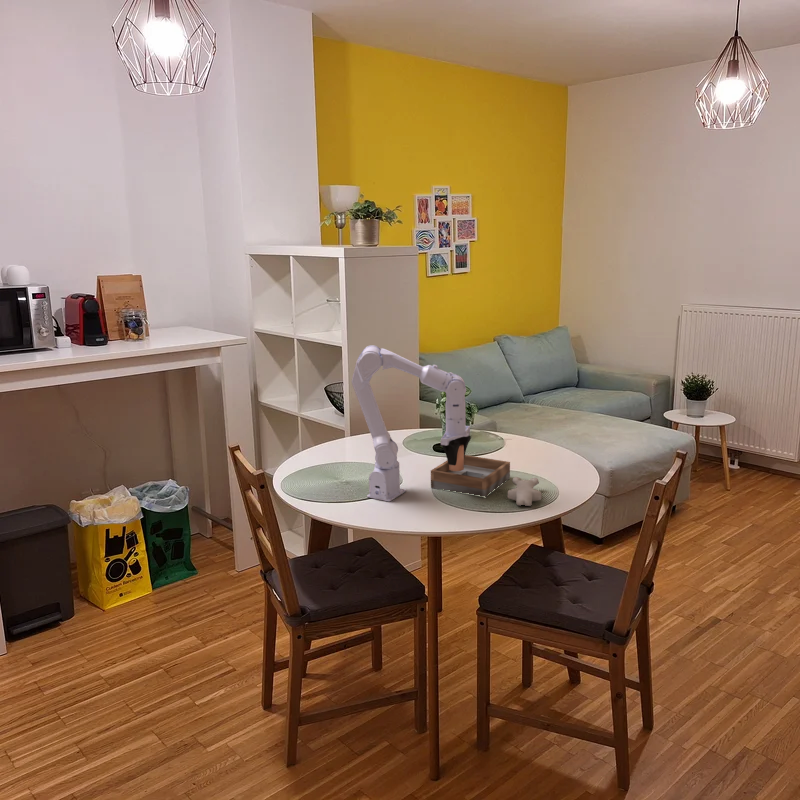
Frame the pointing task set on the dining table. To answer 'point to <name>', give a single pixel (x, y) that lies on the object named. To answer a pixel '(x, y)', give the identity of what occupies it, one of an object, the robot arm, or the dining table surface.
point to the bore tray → (471, 476)
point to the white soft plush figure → (524, 491)
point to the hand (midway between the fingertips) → (456, 462)
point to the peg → (459, 460)
